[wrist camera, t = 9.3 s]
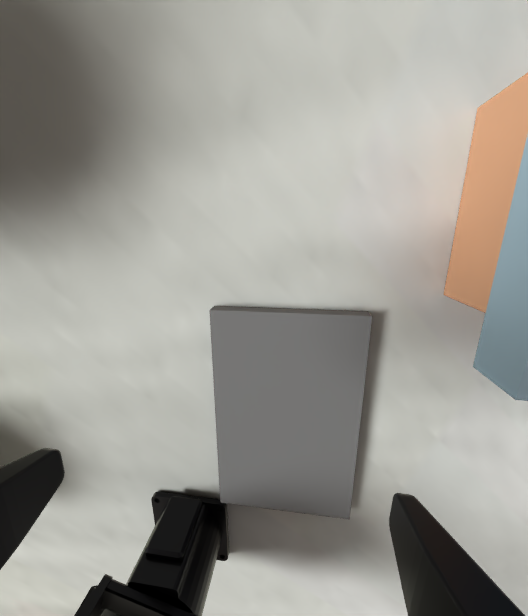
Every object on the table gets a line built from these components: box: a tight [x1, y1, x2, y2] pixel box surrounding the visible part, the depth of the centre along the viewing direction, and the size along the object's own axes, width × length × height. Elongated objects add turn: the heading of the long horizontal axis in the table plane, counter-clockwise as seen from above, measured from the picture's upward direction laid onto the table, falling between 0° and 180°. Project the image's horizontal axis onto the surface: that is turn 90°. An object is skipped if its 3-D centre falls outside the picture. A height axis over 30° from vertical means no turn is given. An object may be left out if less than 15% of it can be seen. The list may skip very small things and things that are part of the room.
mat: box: [210, 306, 372, 519], centre depth 19 cm, size 16×10×1 cm, turn 0°
